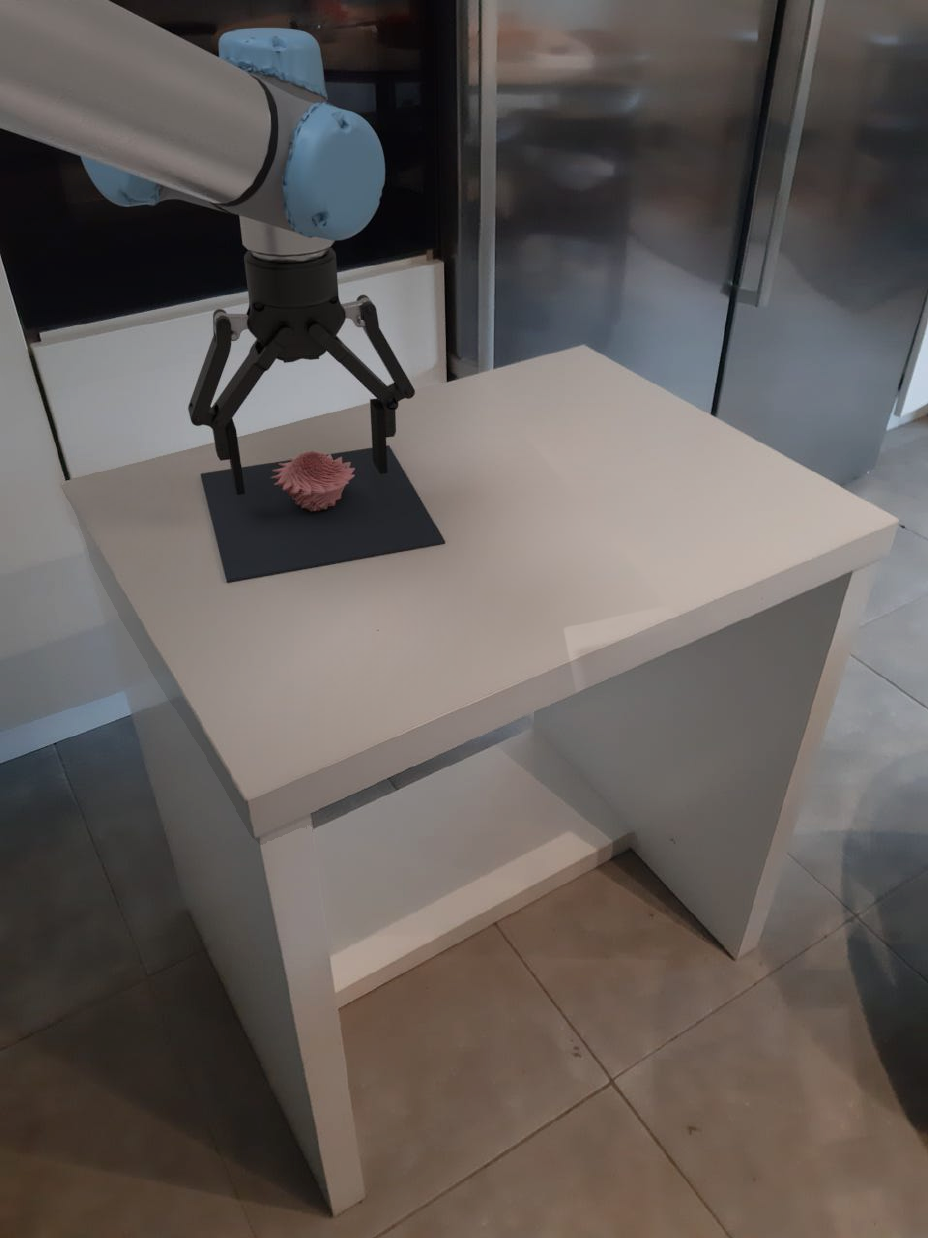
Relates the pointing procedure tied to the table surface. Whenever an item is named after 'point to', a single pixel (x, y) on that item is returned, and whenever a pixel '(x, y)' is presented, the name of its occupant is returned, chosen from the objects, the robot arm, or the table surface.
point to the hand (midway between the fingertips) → (310, 477)
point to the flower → (314, 479)
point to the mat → (315, 519)
